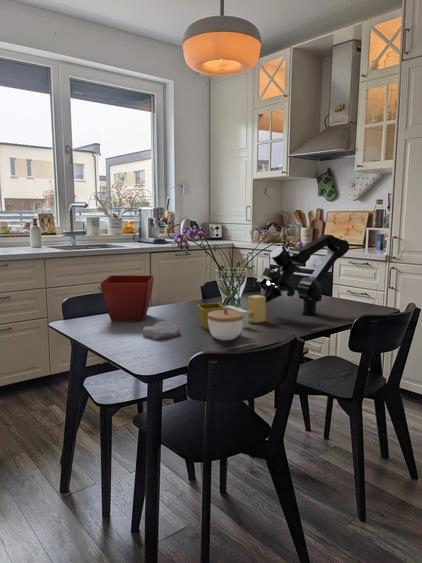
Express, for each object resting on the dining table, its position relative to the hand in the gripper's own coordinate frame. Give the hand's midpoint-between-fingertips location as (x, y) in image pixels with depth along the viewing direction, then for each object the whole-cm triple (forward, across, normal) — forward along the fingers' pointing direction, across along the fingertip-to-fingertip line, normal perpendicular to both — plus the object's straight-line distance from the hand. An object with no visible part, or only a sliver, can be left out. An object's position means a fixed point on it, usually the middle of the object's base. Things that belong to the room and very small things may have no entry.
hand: (263, 302), depth 178 cm
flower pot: (+22, -3, -10) cm, 25 cm away
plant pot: (+37, -35, -25) cm, 57 cm away
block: (+8, 0, +2) cm, 8 cm away
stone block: (+37, -5, -24) cm, 44 cm away
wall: (+15, 0, -4) cm, 15 cm away
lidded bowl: (+24, +11, -12) cm, 30 cm away
